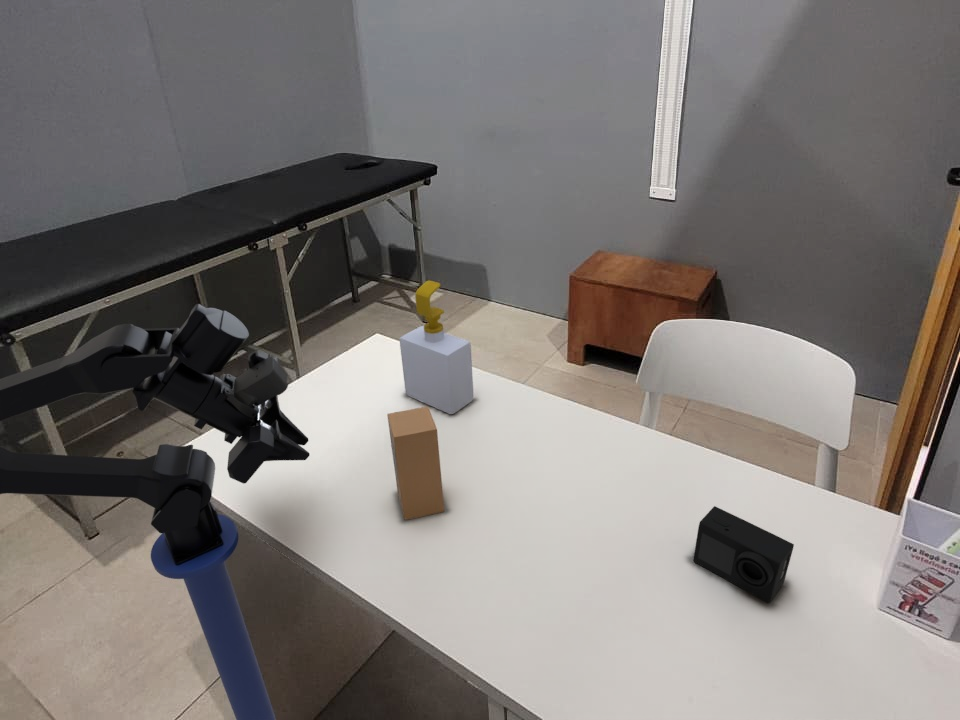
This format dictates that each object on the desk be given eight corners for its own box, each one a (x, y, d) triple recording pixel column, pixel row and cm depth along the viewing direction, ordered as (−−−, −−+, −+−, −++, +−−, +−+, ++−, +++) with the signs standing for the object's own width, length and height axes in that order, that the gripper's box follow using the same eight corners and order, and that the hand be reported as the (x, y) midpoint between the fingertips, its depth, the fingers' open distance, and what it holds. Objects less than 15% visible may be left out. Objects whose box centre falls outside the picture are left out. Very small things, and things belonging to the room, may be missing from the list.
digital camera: (687, 566, 85) (693, 526, 82) (707, 543, 89) (713, 504, 85) (765, 610, 79) (775, 569, 75) (783, 583, 82) (794, 543, 79)
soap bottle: (475, 400, 122) (469, 285, 111) (452, 416, 118) (443, 298, 106) (427, 381, 129) (417, 270, 118) (404, 395, 125) (391, 282, 113)
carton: (404, 520, 95) (393, 437, 87) (397, 494, 100) (386, 413, 93) (444, 511, 96) (437, 428, 89) (436, 486, 101) (428, 405, 94)
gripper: (235, 385, 71) (350, 447, 79) (242, 316, 87) (337, 373, 95) (178, 457, 73) (295, 510, 81) (195, 377, 89) (292, 427, 97)
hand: (307, 449), depth 88 cm, fingers open, 3 cm apart
